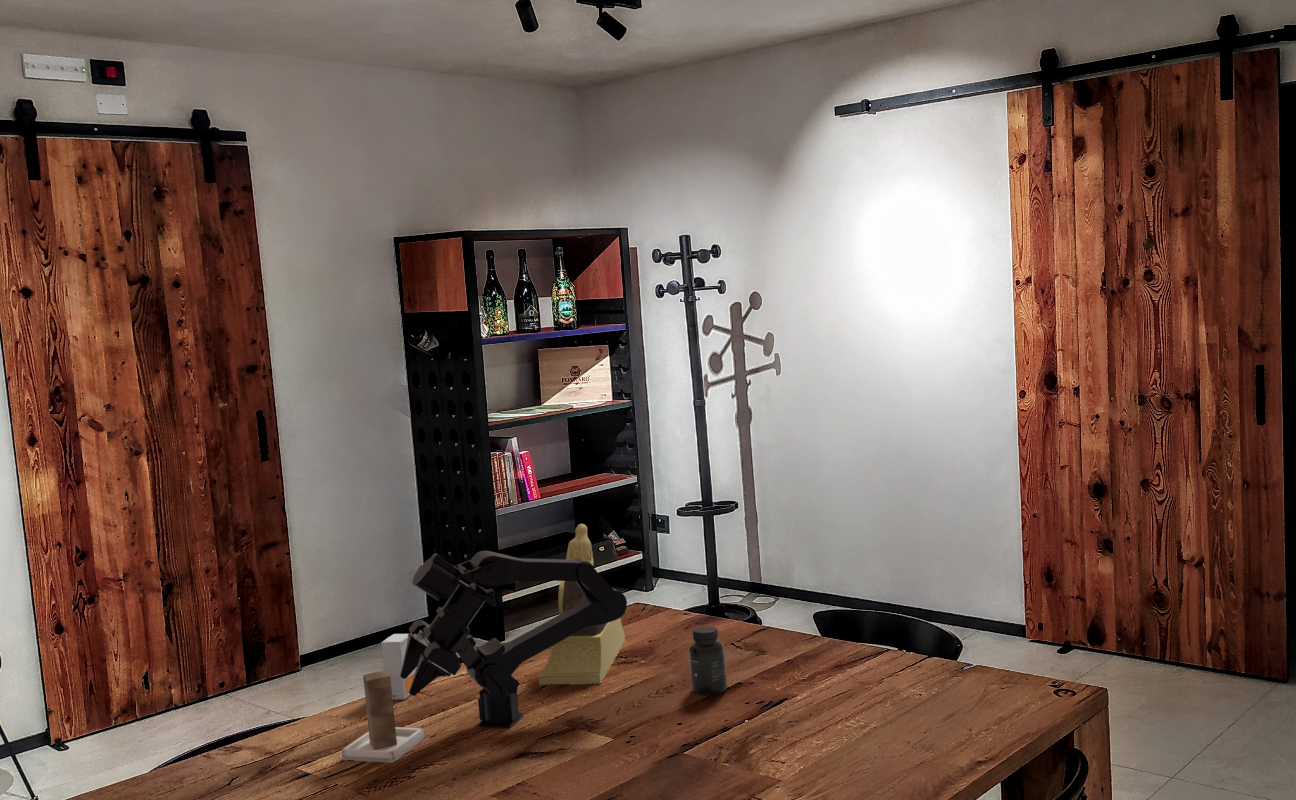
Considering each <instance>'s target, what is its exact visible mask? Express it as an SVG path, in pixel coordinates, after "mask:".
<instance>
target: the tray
mask: <svg viewBox="0 0 1296 800" xmlns="http://www.w3.org/2000/svg"><path fill="white" fill-rule="evenodd" d="M395 729H396V739H397V745H394V746H390V747H386V748H381V749H377V750H374V749H373V747H372V745H371V744H370V738H369V730H368V731H367V732H365V733H364V734H362V735H361V736H360V737H358V738H357V739H355V740H354V741H352V742H351V743H349V744H348V745H347V746H345V747H344V748H343V749H341V758H342V761H348V760H354V761H353V762H366V763H367V762H369V763H371V762H372V763H386V764H387V763H389V764H393V763H394V762H396V761H398V760H399V759H400V758H402V756H403V755H405V754H407V753H408V752H409V751H410V750H411V749H413V748H414V747H415V746H417V745H418V744H419V743H421V742H422V741H423V740H424V739H425V729H424V728H422V727H421V728H420V727H399V726H397V727H396V726H395Z"/></svg>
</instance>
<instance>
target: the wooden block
mask: <svg viewBox="0 0 1296 800" xmlns="http://www.w3.org/2000/svg"><path fill="white" fill-rule="evenodd" d="M362 677H363V687H364V688H363V689H364V696H365V707H366V716H367V717H366V718H367V725H368V726H367V727H368V731H369V738H370V744H371V745H372V747H373V749H374V750H377V749H381V748H386V747H390V746H394V745H397V739H396V729H395V727H396V721H395V711H394V701H393V699H392V689H391V679H390V675H389V674H388V673H387V671H386V670H379V671H375V672H371V673H370V672H369V673H364V674H362Z"/></svg>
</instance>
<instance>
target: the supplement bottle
mask: <svg viewBox="0 0 1296 800" xmlns="http://www.w3.org/2000/svg"><path fill="white" fill-rule="evenodd" d="M718 639H719V634H718V627H716V626H714V625H713V626H711V625H705V626H703V625H702V626H697V627H694V628H693V630H692V640H693V642H692V643H691V644H690V645H689V647H688V657H689V658H688V659H689V669H690V670H689V671H690V682H691V683H690V684H691V690H692V692H693V693H694V694H696V695H699V696H706V697H707V696H709V697H710V696H716V695H717V696H718V695H720V694H723V693H725V691H726V690H727V688H728V680H727V668H726V667H727V666H726V656H725V655H726V654H725V646H724V644H723V643H722V642H721V641H720V640H718Z"/></svg>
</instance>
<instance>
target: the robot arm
mask: <svg viewBox="0 0 1296 800" xmlns="http://www.w3.org/2000/svg"><path fill="white" fill-rule="evenodd" d="M461 578H463V579H465V581H467V582H469V584H467V583H466V582H464V581H462V580H461ZM522 581H536V582H537V581H546V582H550V581H551V582H555V581H556V582H561V581H576V582H577V584H578V585H579V587H580V588H581V590H582V591H583V592H584V594H585V595H583V596H582V597H581V599H580V600H579V601H578V602H577V604H576V605H575V606H574V607H573V608H571V609H569V610H567V611H565V612H564V613H562V614H558V615H557V616H554V617H553V618H550V619H549V620H547V621H545V622H544V623H541V624H539V625H538V626H536V627H534V628H532V629H530V630H528V631H527V632H525V633H523V634H521V635H520V636H518V637H516V638H513V639H512V640H510V641H507V642H501V641H499V640H498V639H497V638H496V637H493V638H491V639H490V640H488V641H487V642H485V643H484V644H481V645H479V646H478V645H477V646H476V644H477V641H476V640H475V639H474V637H473V636H472V635H471V634H470V633H471V631H470V630H471V629H470V627H468V626H469V625H470V624H471V622H472V621H473V620H474V619H475V617H476V615H477V614H478V612H479V611H480V609H481V608H482V607H483V605H484V603H485V602H486V603H487V604H488V605H490V606H492V607H497V602H496V596H495V595H496V591H494V590H493V587H499V586H505V585H511V584H513V583H516V582H517V583H518V582H522ZM411 583H412V586H415V587H416V588H418V589H419V590H420V591H422V592H424V593H425V594H427V595H429V596H430V597H432V598H433V599H434V600H436V601H439V602H440V601H441V600H443V599H444V600H447V601H446V602H445V604H444V605H443V606H442V607H441V606H438V608H437V609H436V613H437V615H436V616H435V617H434V618H433V619H434V620H432V622H431V623H430V624H429V623H427V622H426V621H424V620H423V619H418V620H415V621H412V622H413V623H412V624H411V625H410V627H409V628H408V630H409V632H410V633H407V634H408V641H407V646H406V651H405V656H404V660H403V665H402V669H401V674H400V677H401V678H403V679H406V678H407V677H408V676H409V675H410V674H411V673H412V672H413V670H414V669H415V675H414V678H413V681H412V684H411V687H410V690H409V694H410V696H412V697H415V696H416V695H417V694H418V693H420V692H421V691H422V690H423V689H424V688H426V687H427V686H429V684H430V683H432V682H433V681H434V680H436V679H438V678H440V677H446V676H447V677H451V676H452V675H453V676H456V674H457V673H458V672H459V670H460V669H461V667H462V664H461V662H462V663H463V665H464V666H465V669H466V672H467V674H468V675H469V677H470V678H471V679H472V680H474V682H475V683H477V684H478V686H480V687H481V688H482V689H481V690H479V693H478V694H479V697H478V698H477V704H478V706H477V707H478V715H479V716H478V717H479V720H480V722H478V723H477V726H478V727H479V728H496V729H497V728H500V729H510V728H511V727H513V725H515V724H516V723H517V722H518V721H519V720H520V719H521V718H522V717H523V716H524V713H523V712H520V710H519V709H520V708H519V699H518V697H519V696H518V688H519V684H520V681H519V680H518V679H517V678H516V677H514V675H513V674H514V672H515V671H516V670H517V669H518V667H519V666H521V665H522V664H523V663H524V662H526V661H528V660H529V659H531V658H534V657H535V656H537V655H539V654H541V653H542V652H544V651H546V650H547V649H550V648H551V646H553V645H555V644H557V643H559V642H560V641H562V640H564V639H566V638H568V637H570V636H571V635H573V634H575V633H577V632H579V631H580V630H582V629H584V628H586V627H590V626H596V625H602V624H606V623H609V622H611V621H614V620H617V619H619V618H622V617H623V616H624V615H625V613H626V611H627V610H626V609H627V607H628V601H627V597H626V596H625V594H624V593H623V592H622V591H619V590H618V589H615V588H614V587H612V585H610V584H609V582H608V581H607V580H605V578H604V577H603V576H602V575H601V574H600V573H599V572H598V571H597V570H596V568H595V567H594V564H593V565H592V564H591V563H589V562H587V561H585V560H583V559H575V560H566V559H559V558H557V559H556V558H525V557H524V558H522V557H521V558H519V557H515V556H511V555H509V554H508V555H507V554H503V553H500V552H499V553H498V552H494V551H490V550H481V551H478V552H476V553H475V554H474V555H473V556H472V558H471V559H468V560H467V561H464V562H461V563H458V564H456V565H453V564H450V563H449V562H448V561H447V560H445V559H444V557H442V556H441V555H439V554H437V553H436V552H435V553H433V554H432V556H431V557H430V558H428V559H426V561H424V563H423V564H422V565H420V566H419V567H418V569H417V570H416V571H415V573H414V575H413V577H412V581H411ZM477 583H480V584H482V585H484V586H486V587H489V588H488V589H485V588H483V587H482V586H480V585H479V584H477Z"/></svg>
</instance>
